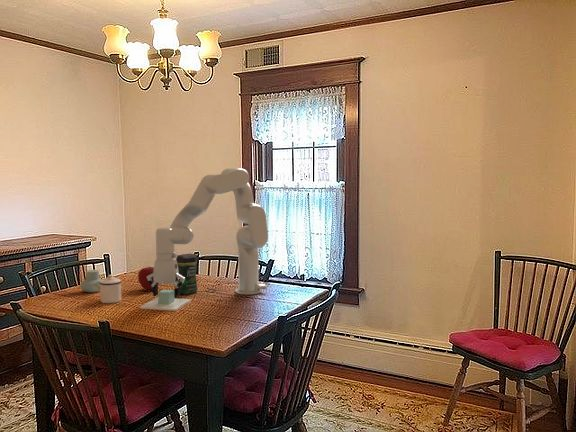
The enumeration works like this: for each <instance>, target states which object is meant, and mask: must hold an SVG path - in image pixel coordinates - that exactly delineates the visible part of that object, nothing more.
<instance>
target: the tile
mask: <svg viewBox="0 0 576 432" xmlns="http://www.w3.org/2000/svg"><path fill="white" fill-rule="evenodd" d="M190 302H192V299H191V298H188V299H187V298H178V297H174V302H173V303H171V304H158V296H157V297H155V298H154V299H152V300H150V301H148V302H147V303H144V304H143V305H140V306H139V309H141V310H154V311H155V310H156V311H157V310H158V311H171V312H176V311H178V310H180V309H181V308H183V307H184V306H186V305H187V304H189V303H190Z"/></svg>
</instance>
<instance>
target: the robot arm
mask: <svg viewBox="0 0 576 432" xmlns="http://www.w3.org/2000/svg"><path fill="white" fill-rule="evenodd" d="M249 181H250V174H249V172H248V171H247V169H244V168H239V167H237V168H236V167H230V168H229V167H228V168H226V169H223V170H222V171H221V173H220V174H206V175H204V176H203V177H202V178H201V180H200V182H199V184H198V185H197V186H196V187H197V188H196V189H195V191H194V192H193V194H192V196H191V198H190V199H189V201H188V203H186V205H184V207H183V208H182V209H181V210H180V211H178V213H177V214H176V216H175V217H174V219H173V221H172V223H171V225H170V226H169V227H160V228H156V231H155V253H156V256H155V258H156V259H155V260H154V264H153V267H154V271H153V273H152V274H150V275H148V276H147V279H148V281H149V283H150V284H151V286H152V287H153V290H152V296H153V297H156V296H158V292H159V284H166V285H167V284H171V285H172V286H174V289H173V290H174V298H178V297H179V296H180V295H181V294H180V290H179V287H180V286H181V285H182V284H183V282H184V280H185V277H183V276H181V275H180V274H179V272H178V265H177V260H176V258H177V255H178V254H176V252H175V245H189V244H191V242H193V239H194V236H195V235H194V232H193V231H192V229H191V228H189V226H190V225H191V223H192V222H193V221H194V220H195V219H196V218H198V217H200V216H202V215H203V214H205V213H206V212H207V211H208V209H209V207H210V205H211V203H212V202H213V200H214V198H215V196H216V195H222V194H226V193H230V192H233V194H234V200H235V209H236V217H237V219H238V221H239V222H240V223H243V224H247V225H244V226H241V227H240V228H238V229H237V232H236V235H235V236H236V237H235V238H236V244H237V255H238V256H237V257H238V265H237V267H238V268H237V269H238V272H237V273H238V279H237V280H238V287H237V288H235V289H234V290H235V291H234V292H235V293H236V294H238V295H249V296H250V295H257V294H258V295H259V294H260V293H262V290H267V289H268V285H266V284H261V281H259V250H258V249H262V248H263V247H265V246H266V244H267V243H268V239H269V233H268V232H269V231H268V222H267V214H266V211H265V209H264V207H262V205H260V204H257V203H255V201H254V200H255V199H254V195H253V190H252V187H251V185H250V183H249ZM151 277H153V280H154V281H153V280H152V278H151ZM179 279H180V282H178V281H179ZM158 283H159V284H158ZM157 284H158V286H157Z"/></svg>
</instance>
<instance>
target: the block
mask: <svg viewBox="0 0 576 432" xmlns="http://www.w3.org/2000/svg"><path fill="white" fill-rule="evenodd" d="M157 297H158V304H171V303H173V302H174V298H175V297H174V289H162V290H160V291H158V295H157Z"/></svg>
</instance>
